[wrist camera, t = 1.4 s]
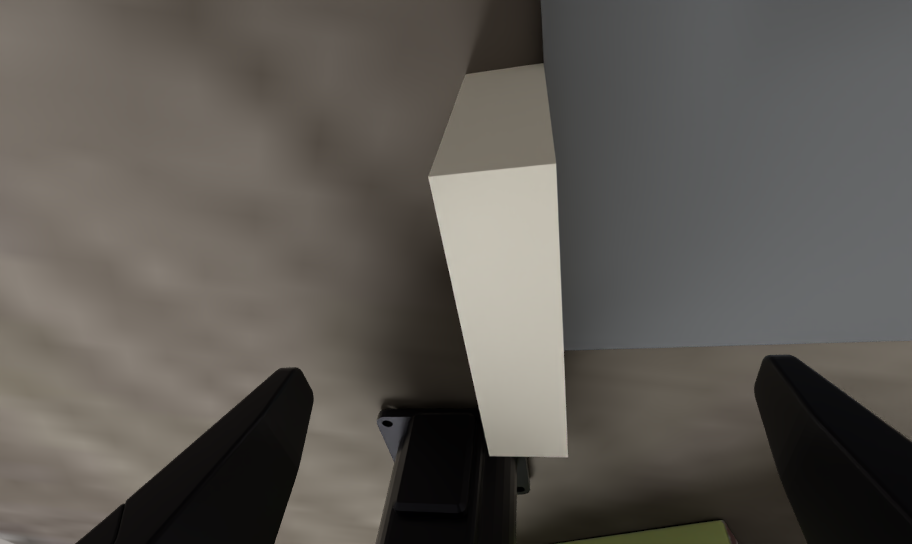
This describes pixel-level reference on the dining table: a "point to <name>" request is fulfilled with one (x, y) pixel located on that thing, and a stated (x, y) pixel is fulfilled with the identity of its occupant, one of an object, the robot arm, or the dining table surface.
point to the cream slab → (506, 255)
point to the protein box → (671, 535)
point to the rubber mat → (731, 170)
